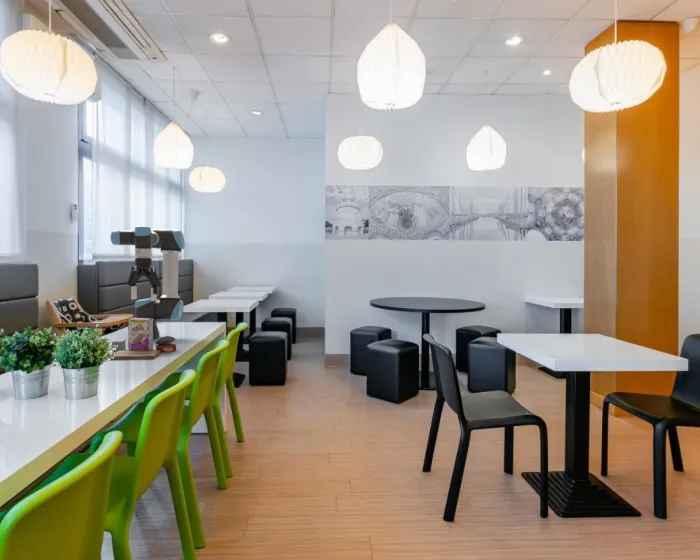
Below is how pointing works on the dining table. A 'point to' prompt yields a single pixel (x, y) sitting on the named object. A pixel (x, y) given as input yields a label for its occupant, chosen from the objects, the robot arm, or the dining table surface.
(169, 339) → the canned food
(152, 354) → the walnut board
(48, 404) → the dining table surface
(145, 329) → the candy bar box
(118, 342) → the gray cube
